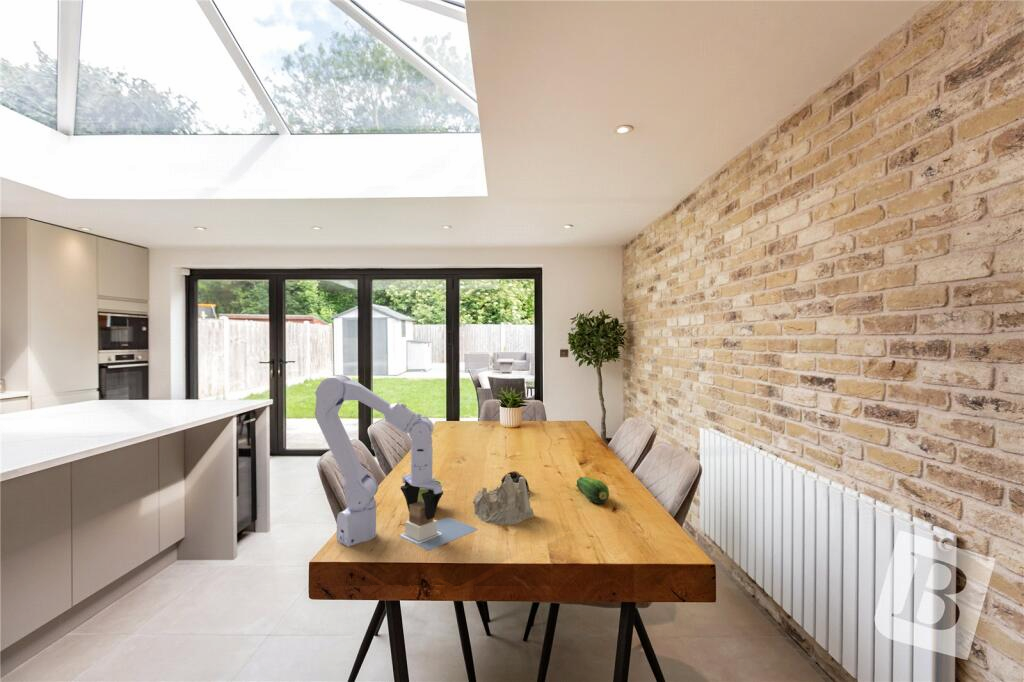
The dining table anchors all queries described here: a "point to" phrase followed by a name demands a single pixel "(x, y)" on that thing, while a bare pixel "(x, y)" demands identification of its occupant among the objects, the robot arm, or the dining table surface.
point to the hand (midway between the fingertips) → (421, 514)
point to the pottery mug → (515, 478)
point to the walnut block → (418, 513)
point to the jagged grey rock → (504, 503)
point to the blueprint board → (443, 533)
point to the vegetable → (593, 489)
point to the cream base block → (420, 530)
